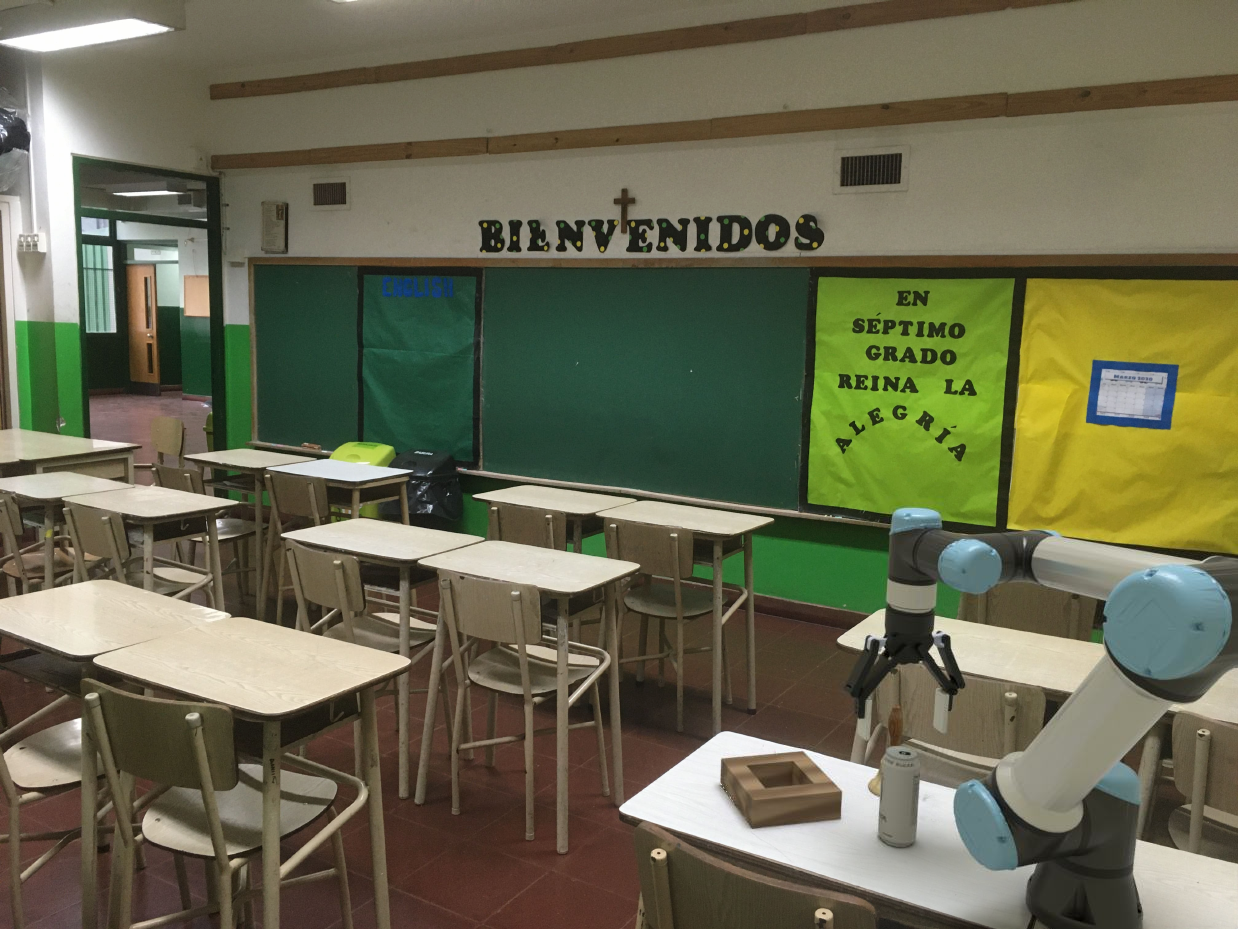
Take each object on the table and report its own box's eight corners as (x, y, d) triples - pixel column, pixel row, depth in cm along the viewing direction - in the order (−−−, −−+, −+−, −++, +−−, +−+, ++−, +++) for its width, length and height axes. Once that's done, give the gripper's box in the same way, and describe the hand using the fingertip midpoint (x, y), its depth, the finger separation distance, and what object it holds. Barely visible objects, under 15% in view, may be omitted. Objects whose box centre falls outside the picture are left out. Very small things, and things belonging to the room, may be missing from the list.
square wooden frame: (840, 818, 165) (842, 791, 164) (752, 828, 161) (753, 800, 160) (801, 776, 180) (802, 751, 180) (720, 784, 176) (721, 758, 176)
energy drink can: (878, 827, 162) (883, 742, 160) (916, 833, 160) (921, 747, 158) (876, 844, 157) (881, 757, 155) (915, 852, 155) (920, 763, 153)
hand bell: (921, 801, 172) (926, 715, 169) (874, 800, 172) (879, 714, 170) (908, 779, 180) (913, 697, 178) (863, 778, 180) (868, 696, 178)
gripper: (966, 595, 160) (957, 718, 163) (827, 602, 154) (820, 729, 157) (994, 608, 152) (984, 736, 156) (848, 617, 147) (841, 749, 150)
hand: (901, 733), depth 156 cm, fingers open, 13 cm apart
